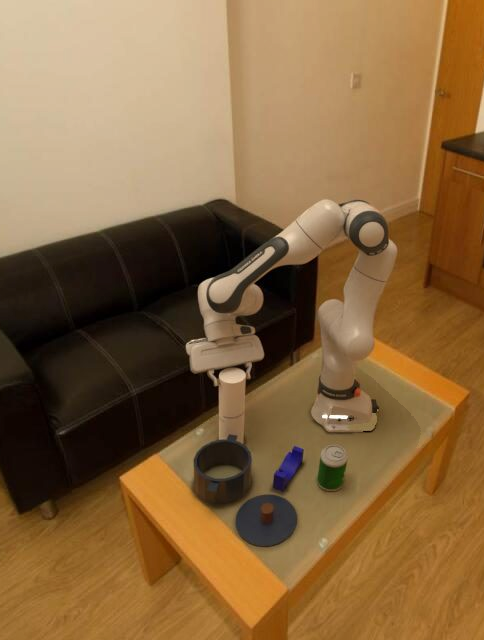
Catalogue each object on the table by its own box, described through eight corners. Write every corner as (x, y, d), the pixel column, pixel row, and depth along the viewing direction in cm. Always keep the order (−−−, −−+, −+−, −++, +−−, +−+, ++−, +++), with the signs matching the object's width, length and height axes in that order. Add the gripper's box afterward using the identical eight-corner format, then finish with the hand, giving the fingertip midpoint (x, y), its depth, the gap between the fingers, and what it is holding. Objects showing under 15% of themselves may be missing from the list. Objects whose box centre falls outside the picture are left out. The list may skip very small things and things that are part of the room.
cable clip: (288, 458, 146) (289, 443, 143) (302, 464, 145) (303, 449, 142) (267, 487, 136) (269, 472, 133) (282, 493, 135) (283, 478, 132)
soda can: (339, 496, 137) (345, 465, 131) (313, 490, 138) (317, 459, 132) (345, 476, 144) (350, 446, 138) (320, 470, 144) (324, 440, 138)
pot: (257, 460, 144) (258, 436, 139) (240, 518, 126) (241, 492, 122) (207, 454, 143) (206, 429, 138) (182, 511, 126) (181, 485, 121)
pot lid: (300, 500, 134) (302, 487, 131) (291, 551, 120) (293, 538, 118) (243, 493, 133) (244, 480, 131) (228, 544, 120) (228, 530, 117)
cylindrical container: (237, 453, 145) (239, 385, 133) (214, 447, 146) (214, 379, 134) (247, 437, 151) (249, 371, 139) (225, 431, 152) (225, 365, 140)
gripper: (185, 338, 131) (196, 389, 129) (259, 326, 142) (270, 373, 140) (182, 343, 136) (192, 392, 134) (253, 331, 147) (264, 376, 145)
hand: (233, 382), depth 137 cm, fingers closed on cylindrical container, 7 cm apart
